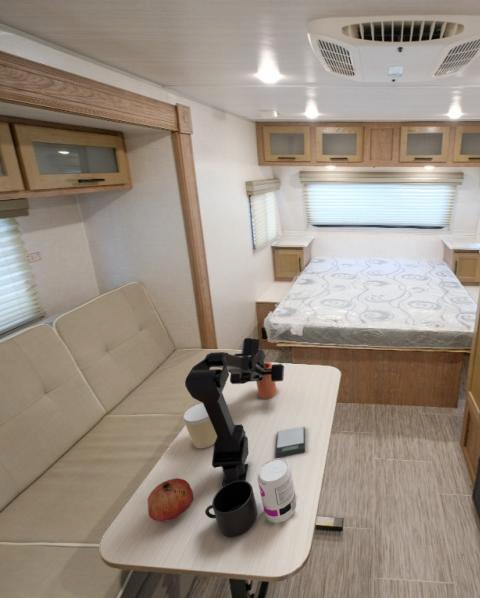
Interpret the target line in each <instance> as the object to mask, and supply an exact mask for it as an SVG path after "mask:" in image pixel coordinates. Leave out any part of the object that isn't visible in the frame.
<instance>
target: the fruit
mask: <svg viewBox="0 0 480 598" xmlns="http://www.w3.org/2000/svg"><path fill="white" fill-rule="evenodd" d="M194 499H195V495H194V490H193V489H192V487H191V485H190V483H189V482H188V481H187V480H186V479H183V478H178V477H177V478H170V479H168V480H165V481H163V482H161V483H160V484H158V485H157V486H155V487H154V489H153V490H152V491H151V492H150V493H149V495H148V497H147V511H148V512H147V513H148V517H149V518H150V519H151V520H152V521H154V522H158V523H163V522H169V521H172V520H174V519H176V518H178V517H180V516H181V515H183V514H184V513H185V512H186V511H187V510H188V509H189V508H190V506H191V505H192V504H193V501H194Z"/></svg>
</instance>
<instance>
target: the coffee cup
mask: <svg viewBox="0 0 480 598" xmlns="http://www.w3.org/2000/svg"><path fill="white" fill-rule="evenodd" d="M182 420H183V423H184V424H185V427H186V429H187V432H188V435H189V437H190V439H191V441H192V444H193V446H194V447H195V448H196V449H206V448H209V447H211V446H214V443H215V440H216V438H217V435H216V432H215V430H214V428H213V425H212V423H211V421H210V418H209V416H208V414H207V411H206V409H205V407H204V405H203V403H202V402H201V403H198V404H195V405H193V406H191V407H189V408H188V409H187V410H186V411H185V412H184V414H183V417H182Z"/></svg>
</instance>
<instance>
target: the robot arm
mask: <svg viewBox="0 0 480 598" xmlns="http://www.w3.org/2000/svg"><path fill="white" fill-rule="evenodd" d="M260 344H261V340H260V339H257V338H251V337H245V338H244V339H242V343H241V352H240V353H234V354H230V353H228V352H226V351H218V352H217V351H215V352H214V351H213V352H210V353H207V354H206V356H205V357H204V358H203V359H202V360H201V361H199V362H198V363H196V364H195V365H194V366H192V368H191V369H190V371H189V373H188V374H187V376H186V378H185V380H184V384H185V385H184V386H185V388H186V391H187V392H188V393H189V395H190V396H191V398H192V399H194V400H196V401H198V402H200V403H201V404H202V403H203V405H204V407H205V409H206V411H207V414H208V416H209V418H210V421H211V423H212V425H213V428H214V430H215V432H216V435H217V438H216V440H215V443H214V444H213V452H212V461H211V466H212V468H214V469H216V468H221V470H222V473H223V477H222V480H221V487H223V486H225V485H227V484H228V483H231V482H233V481H238V480H243V481H247V474H248V470H249V464H248V463H246V461H247V458H248V456H249V453H250V452H249V439H248V436H247V434H246V431H245V429H244V428H245V427H244V425H243V424H240V423H239V424H235V423H234V420H233V418H232V414H231V412H230V409H229V407H228V404H227V402H226V399H225V396H224V393H223V391H224V389H225V387H226V385H227V381H228V379H229V382H230V384H231V385H244V384H246V383H249V382H250V383H251V382H256V381H263V377H264V375H271V381H272V382H275V383H277V382H278V383H279V382H283V381H284V377H285V365H284V364H283V363H277V364H276V363H275V364H272V368H268V369H264V368H265V364H264V362H265V359H266V354H265V351H264V349H260V347H261V346H260ZM211 368H215V369H211ZM265 371H267V372H265Z"/></svg>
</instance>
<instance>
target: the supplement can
mask: <svg viewBox="0 0 480 598" xmlns="http://www.w3.org/2000/svg"><path fill="white" fill-rule="evenodd" d="M257 484H258V489H259V493H260V497H261V503H262V507H263V513H264V515H265V519H266V520H267V521H269V522H270V523H274V524H278V523H282V522H285V521H287V520H288V519H290V518H291V517H292V516H293V515H294V513H295V512H296V509H297V496H296V491H295V484H294V478H293V472H292V467H291V465H290V464H289V463H288V462H287V461H286V460H285V459H283V458H273V459H270V460H268V461H266V462H265V463H264V464H263V465H262V466H261V468H260V469H259V473H258V474H257Z"/></svg>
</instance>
